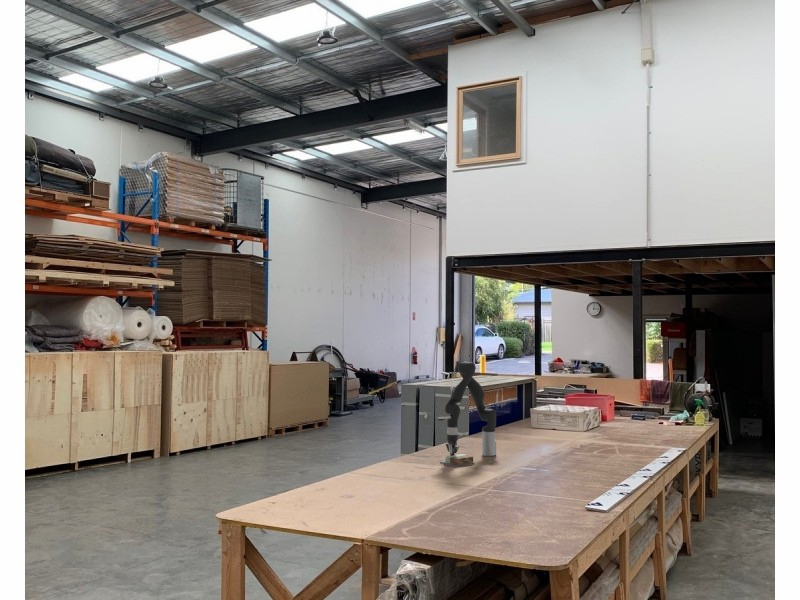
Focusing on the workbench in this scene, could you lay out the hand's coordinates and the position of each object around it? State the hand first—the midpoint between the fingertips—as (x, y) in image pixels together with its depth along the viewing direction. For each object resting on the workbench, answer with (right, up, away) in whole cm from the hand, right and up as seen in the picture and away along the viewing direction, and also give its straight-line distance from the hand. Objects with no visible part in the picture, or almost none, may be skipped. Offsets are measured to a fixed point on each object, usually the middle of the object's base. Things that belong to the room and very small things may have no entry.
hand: (452, 458), depth 449 cm
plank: (+3, -1, -4) cm, 5 cm away
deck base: (+3, -2, -5) cm, 6 cm away
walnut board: (+6, -1, -9) cm, 11 cm away
